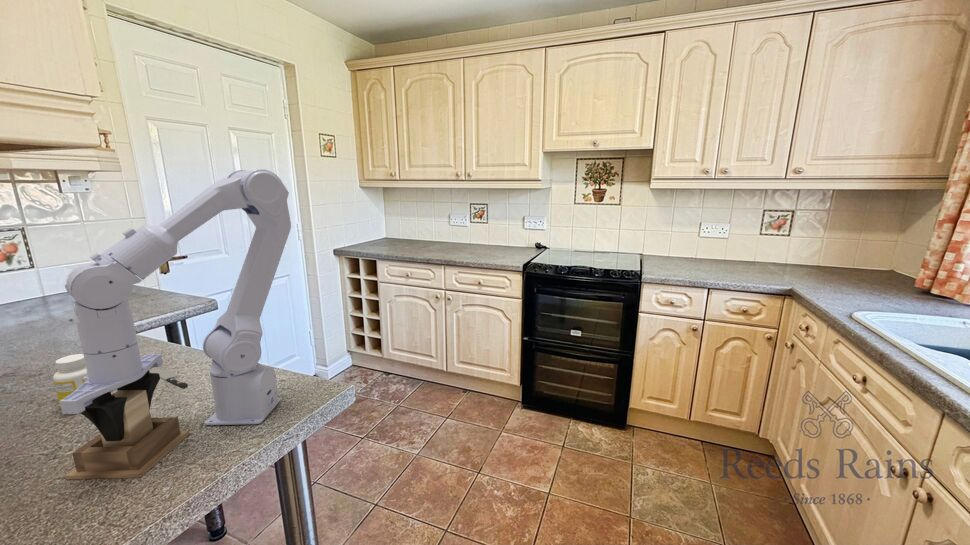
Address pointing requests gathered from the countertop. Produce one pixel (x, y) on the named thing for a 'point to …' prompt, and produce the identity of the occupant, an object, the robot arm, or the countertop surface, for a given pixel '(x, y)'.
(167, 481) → the countertop surface
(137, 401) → the peg
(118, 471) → the wooden peg socket
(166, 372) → the chef's knife
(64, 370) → the supplement bottle
